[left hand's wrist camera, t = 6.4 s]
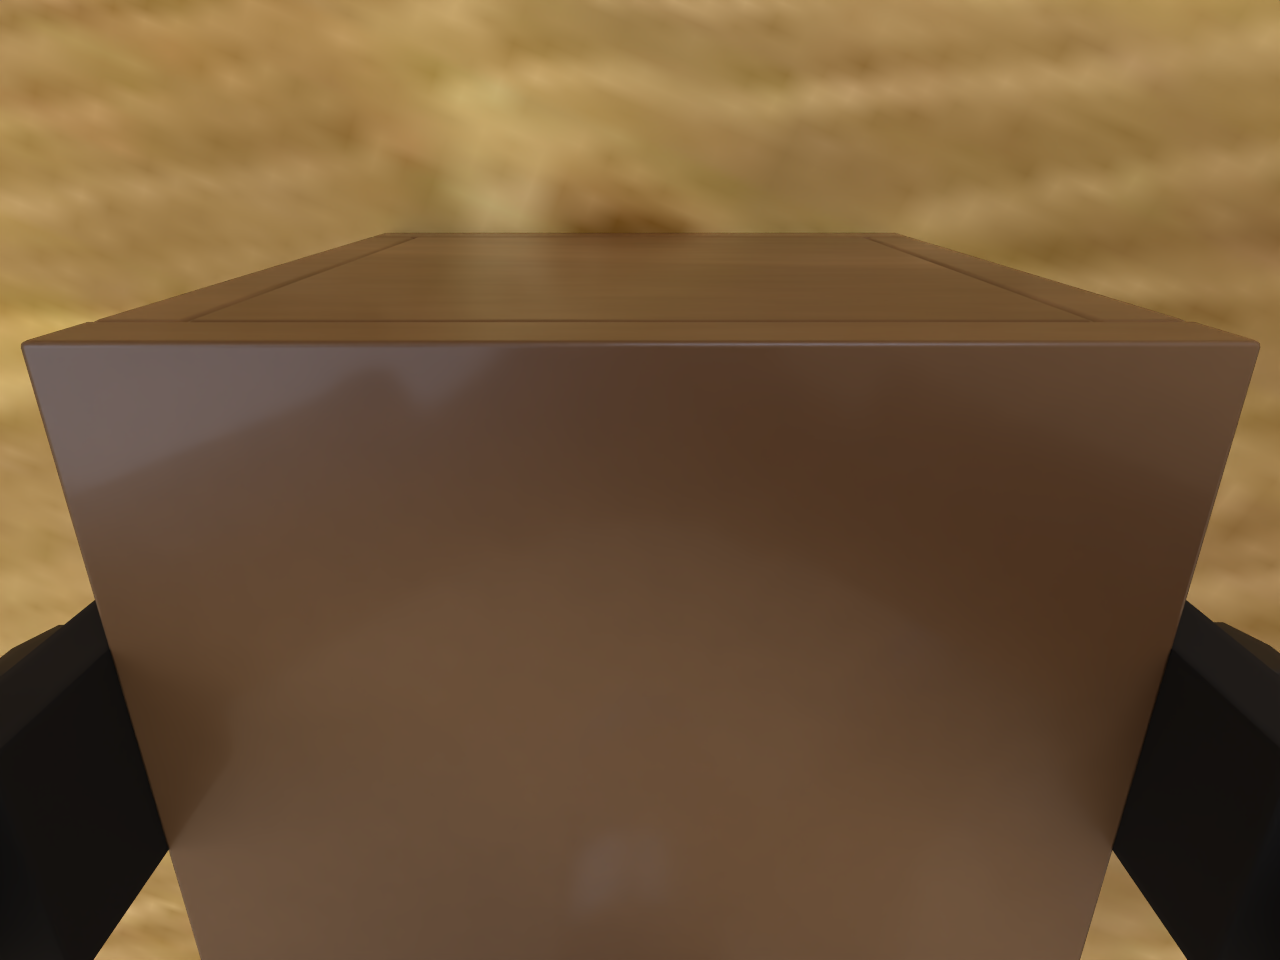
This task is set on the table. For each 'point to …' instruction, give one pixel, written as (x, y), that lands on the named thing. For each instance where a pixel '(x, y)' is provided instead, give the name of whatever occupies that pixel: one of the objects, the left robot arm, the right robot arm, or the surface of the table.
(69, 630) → the left robot arm
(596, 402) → the cabinet
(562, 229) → the table surface
